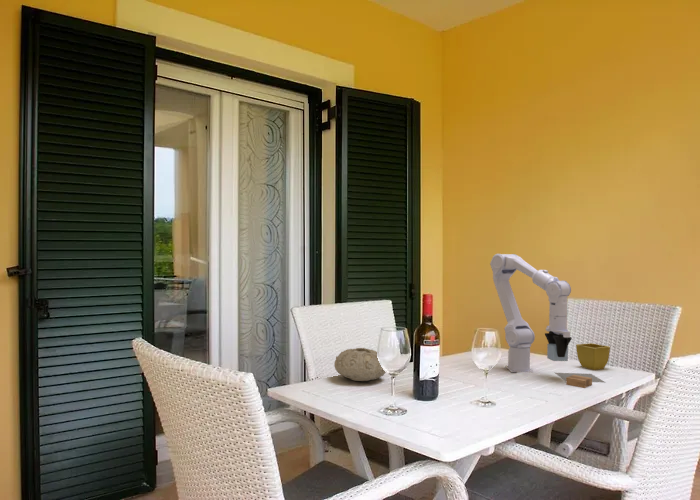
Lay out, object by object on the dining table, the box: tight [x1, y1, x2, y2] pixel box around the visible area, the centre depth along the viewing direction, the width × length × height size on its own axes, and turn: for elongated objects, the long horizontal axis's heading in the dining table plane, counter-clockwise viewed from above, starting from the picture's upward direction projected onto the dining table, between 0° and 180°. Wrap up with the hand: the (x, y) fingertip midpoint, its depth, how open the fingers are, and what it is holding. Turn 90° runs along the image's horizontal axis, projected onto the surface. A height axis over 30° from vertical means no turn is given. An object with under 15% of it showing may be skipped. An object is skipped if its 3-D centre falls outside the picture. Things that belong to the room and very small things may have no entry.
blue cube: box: [546, 343, 569, 362], centre depth 183 cm, size 5×5×5 cm
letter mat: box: [554, 372, 607, 384], centre depth 186 cm, size 13×13×1 cm
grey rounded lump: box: [333, 347, 387, 382], centre depth 179 cm, size 18×18×10 cm
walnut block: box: [565, 375, 593, 389], centre depth 175 cm, size 6×6×3 cm
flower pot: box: [575, 342, 611, 371], centre depth 202 cm, size 9×9×9 cm
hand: (557, 355), depth 183 cm, fingers closed on blue cube, 5 cm apart
